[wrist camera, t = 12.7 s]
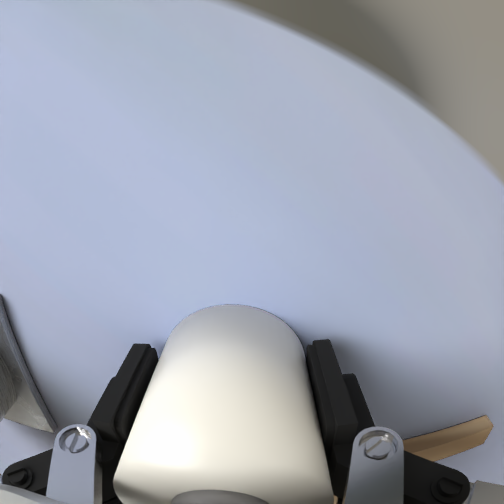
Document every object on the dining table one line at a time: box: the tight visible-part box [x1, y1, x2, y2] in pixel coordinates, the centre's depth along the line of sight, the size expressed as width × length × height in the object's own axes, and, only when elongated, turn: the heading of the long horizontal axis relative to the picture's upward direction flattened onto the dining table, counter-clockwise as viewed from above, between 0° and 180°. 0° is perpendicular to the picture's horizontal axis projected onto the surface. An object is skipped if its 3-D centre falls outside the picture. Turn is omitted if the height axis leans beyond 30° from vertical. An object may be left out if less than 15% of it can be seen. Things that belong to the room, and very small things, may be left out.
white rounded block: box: [113, 304, 334, 504], centre depth 8 cm, size 5×5×6 cm
